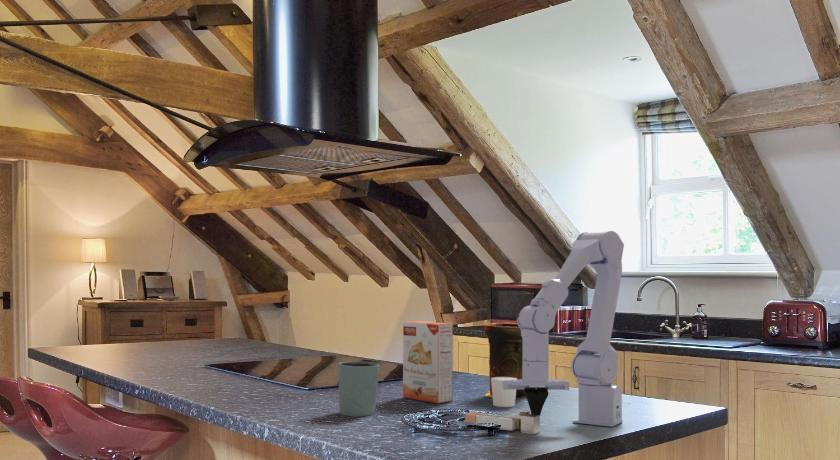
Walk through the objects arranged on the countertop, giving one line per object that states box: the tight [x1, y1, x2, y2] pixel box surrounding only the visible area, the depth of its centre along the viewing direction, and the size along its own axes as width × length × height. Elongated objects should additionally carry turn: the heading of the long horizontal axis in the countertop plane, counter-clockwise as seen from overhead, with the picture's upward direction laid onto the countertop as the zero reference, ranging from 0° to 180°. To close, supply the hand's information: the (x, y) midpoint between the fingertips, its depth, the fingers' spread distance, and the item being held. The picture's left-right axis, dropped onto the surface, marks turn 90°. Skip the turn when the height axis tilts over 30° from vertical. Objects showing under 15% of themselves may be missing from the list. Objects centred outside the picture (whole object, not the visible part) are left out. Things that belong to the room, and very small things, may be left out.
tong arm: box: [469, 411, 520, 430], centre depth 179 cm, size 12×1×2 cm, turn 58°
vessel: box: [483, 322, 530, 400], centre depth 226 cm, size 14×14×20 cm
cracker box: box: [402, 320, 454, 405], centre depth 217 cm, size 14×6×21 cm, turn 43°
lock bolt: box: [504, 410, 531, 429], centre depth 178 cm, size 5×2×4 cm, turn 58°
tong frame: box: [464, 412, 541, 435], centre depth 176 cm, size 16×4×4 cm, turn 58°
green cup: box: [337, 361, 380, 417], centre depth 195 cm, size 10×10×12 cm
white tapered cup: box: [491, 377, 517, 408], centre depth 209 cm, size 7×7×7 cm
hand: (535, 422), depth 176 cm, fingers closed
